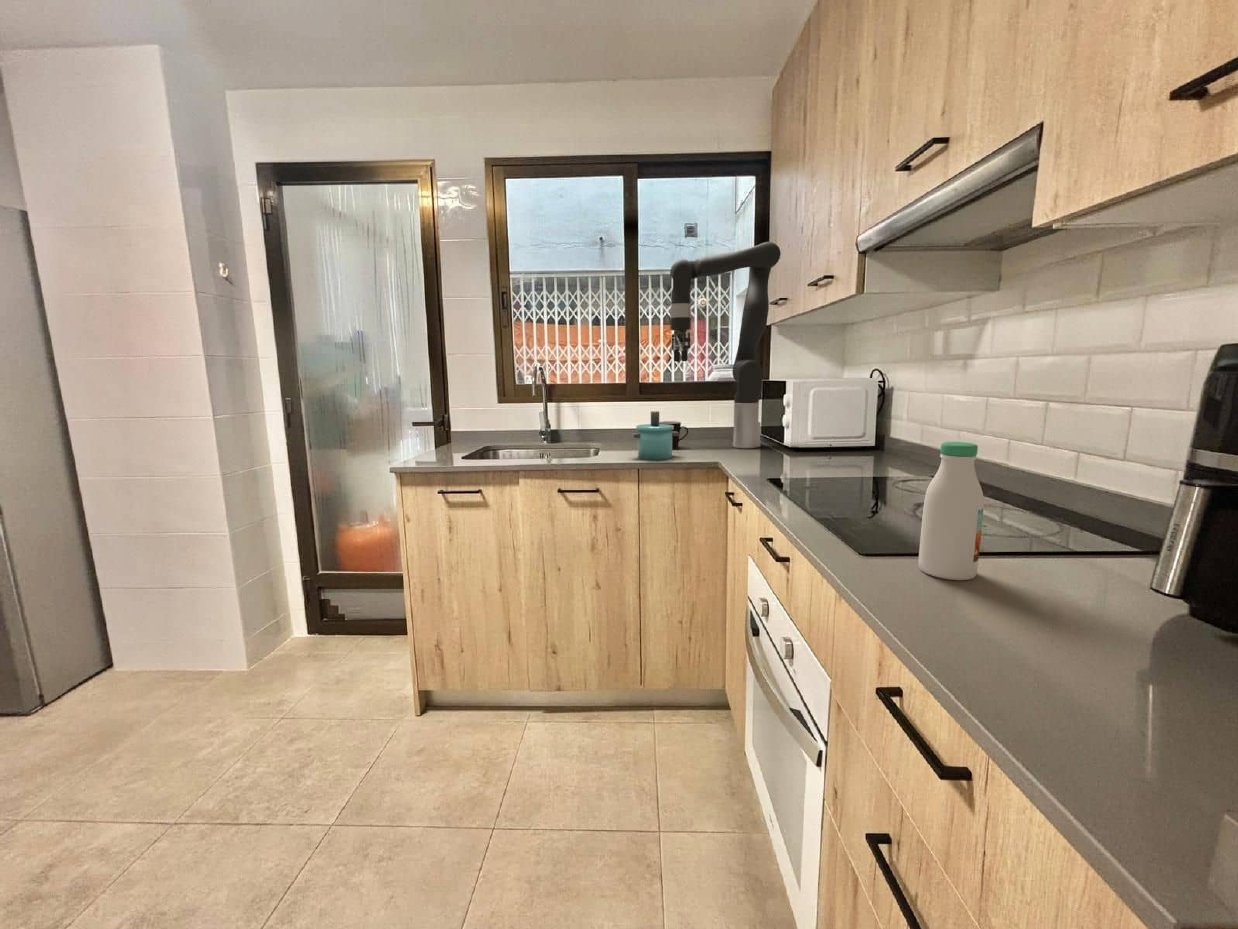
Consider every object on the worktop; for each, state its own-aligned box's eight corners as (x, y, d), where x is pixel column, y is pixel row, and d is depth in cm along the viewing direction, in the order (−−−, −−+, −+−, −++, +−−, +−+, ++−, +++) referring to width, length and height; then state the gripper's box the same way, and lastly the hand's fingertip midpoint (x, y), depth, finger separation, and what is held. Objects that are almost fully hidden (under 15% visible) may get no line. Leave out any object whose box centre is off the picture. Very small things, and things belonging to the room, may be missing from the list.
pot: (671, 453, 196) (671, 426, 195) (682, 458, 185) (683, 429, 183) (628, 455, 193) (628, 427, 191) (637, 461, 181) (636, 431, 180)
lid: (664, 426, 195) (664, 409, 194) (679, 429, 183) (680, 412, 182) (631, 427, 191) (631, 411, 190) (644, 431, 179) (644, 413, 178)
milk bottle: (963, 586, 77) (977, 449, 73) (908, 570, 83) (919, 443, 80) (985, 573, 81) (1000, 443, 78) (931, 559, 88) (943, 438, 84)
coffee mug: (654, 447, 211) (654, 422, 209) (672, 445, 215) (672, 420, 213) (670, 451, 201) (671, 424, 199) (689, 449, 205) (690, 423, 203)
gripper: (697, 315, 193) (696, 361, 196) (683, 318, 206) (683, 361, 209) (677, 315, 191) (677, 361, 194) (665, 318, 205) (665, 361, 207)
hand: (680, 361), depth 201 cm, fingers open, 8 cm apart
